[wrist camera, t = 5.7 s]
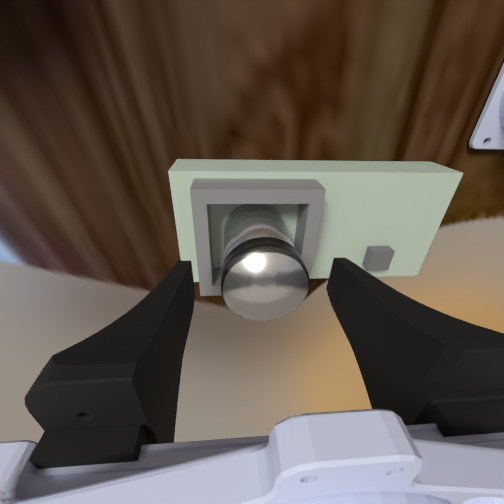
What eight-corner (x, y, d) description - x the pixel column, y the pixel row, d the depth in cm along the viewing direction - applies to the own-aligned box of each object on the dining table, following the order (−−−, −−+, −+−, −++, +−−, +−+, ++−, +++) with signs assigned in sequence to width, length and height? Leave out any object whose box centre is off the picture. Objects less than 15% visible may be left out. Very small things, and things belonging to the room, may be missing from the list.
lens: (289, 200, 16) (317, 252, 11) (282, 256, 18) (303, 320, 13) (221, 200, 16) (219, 253, 11) (223, 257, 18) (221, 324, 13)
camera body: (431, 161, 19) (491, 182, 14) (395, 255, 23) (433, 292, 19) (176, 159, 17) (160, 181, 13) (189, 259, 21) (179, 301, 17)
